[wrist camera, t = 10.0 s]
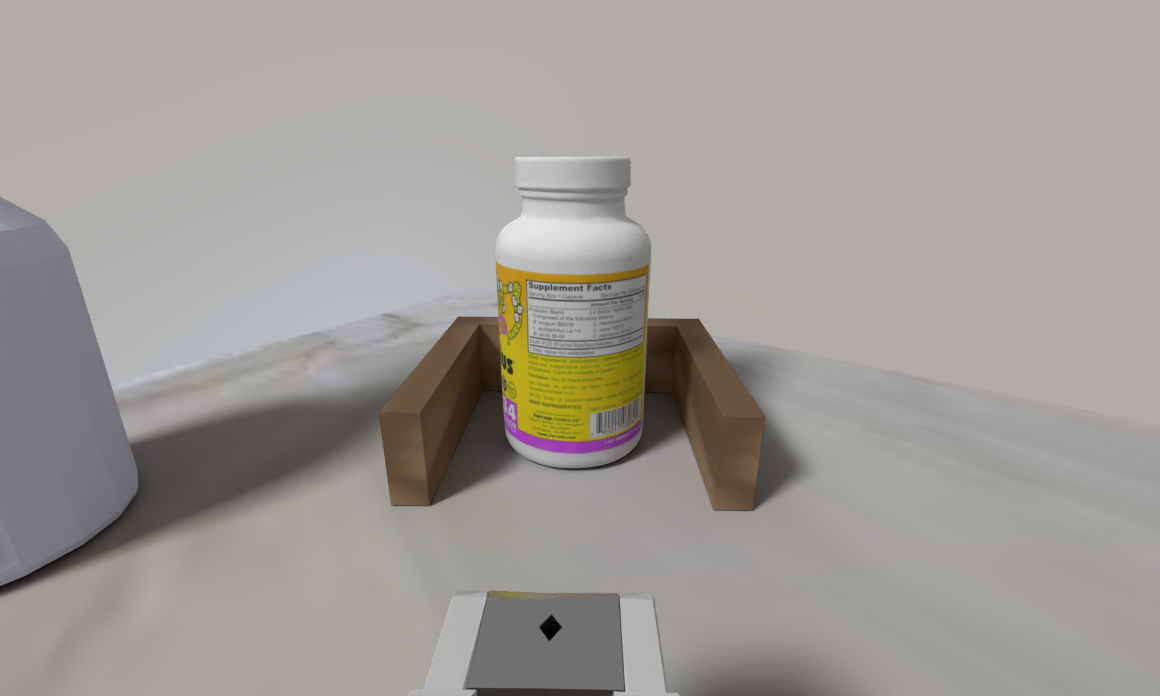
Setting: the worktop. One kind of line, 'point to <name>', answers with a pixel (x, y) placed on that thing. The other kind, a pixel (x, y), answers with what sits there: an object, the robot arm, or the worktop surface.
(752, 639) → the worktop surface
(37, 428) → the soap bottle
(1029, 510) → the worktop surface
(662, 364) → the corral
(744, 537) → the worktop surface
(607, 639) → the robot arm
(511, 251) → the supplement bottle
